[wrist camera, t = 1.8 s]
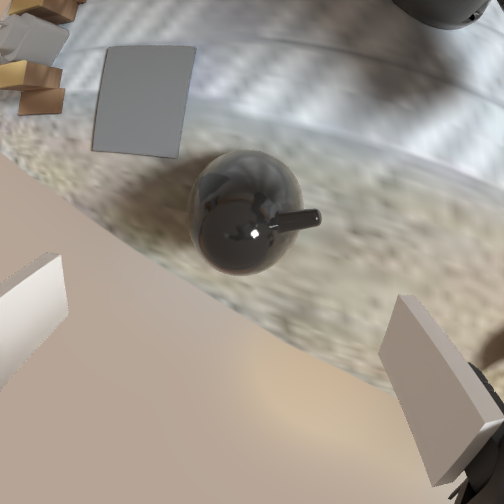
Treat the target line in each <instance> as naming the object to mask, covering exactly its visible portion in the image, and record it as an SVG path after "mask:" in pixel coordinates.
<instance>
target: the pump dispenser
mask: <svg viewBox="0 0 504 504" xmlns="http://www.w3.org/2000/svg"><path fill="white" fill-rule="evenodd" d="M321 221H322V217H321V213H320V211H319V210H318V209H304V204H303V196H302V192H301V188H300V186H299V183H298V181H297V179H296V178H295V176H294V174H293V173H292V172H291V170H290V169H289V168H288V167H287V166H286V165H285V164H284V163H283V162H281V161H280V160H279V159H277V158H276V157H274V156H272V155H270V154H268V153H265V152H262V151H257V150H248V149H245V150H236V151H232V152H228V153H226V154H223V155H221V156H219V157H217V158H216V159H214V160H213V161H212V162H210V163H209V164H208V165H207V166H206V167H205V168H204V169H203V170H202V171H201V173H200V174H199V175H198V177H197V179H196V180H195V182H194V184H193V186H192V189H191V191H190V194H189V197H188V202H187V208H186V222H187V229H188V233H189V236H190V239H191V241H192V243H193V245H194V247H195V249H196V250H197V252H198V253H199V255H200V256H201V257H202V258H203V259H204V260H205V261H206V262H207V263H208V264H209V265H210V266H211V267H213V268H214V269H216V270H218V271H220V272H222V273H225V274H229V275H234V276H248V275H253V274H257V273H260V272H262V271H265V270H267V269H268V268H270V267H272V266H273V265H274V264H276V263H277V262H278V261H279V260H280V259H281V258H283V257H284V255H285V254H286V253H287V252H288V251H289V250H290V248H291V247H292V245H293V244H294V242H295V240H296V238H297V236H298V234H299V232H300V230H301V229H306V228H311V227H316V226H319V225H320V224H321Z"/></svg>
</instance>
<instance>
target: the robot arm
mask: <svg viewBox="0 0 504 504" xmlns="http://www.w3.org/2000/svg"><path fill="white" fill-rule="evenodd" d="M393 1H394V2H395V3H396V4H397V5H398V6H399V7H400V8H402V9H403V10H404V11H406V12H407V13H408V14H410V15H411V16H413V17H415V18H416V19H418V20H420V21H422V22H424V23H426V24H428V25H431V26H434V27H437V28H441V29H448V30H455V29H460V28H463V27H465V26H468V25H470V24H472V23H474V22H475V21H477V20H478V19H479V18H480V17H481V15H482V14H483V13H484V11H485V9H486V8H487V6H488V5H489V3H490V1H491V0H393ZM497 1H498V3H499V5H500V7H501V8H502V10H503V12H504V0H497ZM68 315H69V310H68V304H67V298H66V291H65V284H64V277H63V269H62V261H61V255H60V254H53V253H45V254H44V255H42V256H40V257H39V258H37V259H36V260H34V261H33V262H31V263H29V264H28V265H26V266H25V267H23V268H22V269H20V270H19V271H17V272H16V273H15V274H13V275H11V276H10V277H9V278H7V279H5V280H4V281H3V282H1V283H0V390H1V389H2V388H3V387H4V385H5V384H6V383H7V382H8V381H9V380H10V378H11V377H12V376H13V375H14V374H15V373H16V372H17V370H18V369H19V368H20V367H21V366H22V365H23V364H24V362H25V361H26V360H27V359H28V358H29V357H30V356H31V355H32V354H33V352H34V351H35V350H36V349H37V348H38V347H39V346H40V345H41V344H42V343H43V341H44V340H45V339H46V338H47V337H48V336H49V335H50V334H51V333H52V332H53V331H54V330H55V329H56V328H57V327H58V325H59V324H60V323H61V322H62V321H63V320H64V319H65V318H66V317H67V316H68ZM378 354H379V356H380V359H381V361H382V363H383V365H384V367H385V370H386V372H387V374H388V377H389V379H390V381H391V383H392V386H393V388H394V390H395V393H396V395H397V397H398V400H399V402H400V404H401V407H402V409H403V412H404V414H405V417H406V419H407V422H408V424H409V427H410V429H411V431H412V434H413V437H414V439H415V441H416V444H417V447H418V449H419V452H420V455H421V457H422V460H423V463H424V466H425V468H426V471H427V474H428V477H429V479H430V482H431V485H432V487H435V486H439V485H443V484H447V483H451V482H453V481H454V480H455V479H456V478H457V477H458V476H459V475H460V474H461V473H462V472H463V471H465V473H466V475H467V478H466V479H465V481H464V482H463V483H462V484H461V485H460V486H459V487H458V488H457V489H456V490H455V491H454V492H453V493H452V494H451V495H450V496H449V498H448V499H450V500H451V499H452V498H453V497H454V496H455V495H456V494H457V493H458V496H457V498H456V500H455V503H454V504H504V403H503V402H502V400H501V399H500V397H499V396H498V395H497V393H496V392H494V389H493V387H492V386H491V385H490V384H488V380H487V379H486V378H485V376H484V375H483V374H482V372H481V371H480V370H479V369H477V368H476V367H475V366H474V365H472V364H471V363H470V362H467V361H466V360H465V358H464V357H463V356H462V354H461V353H460V352H459V350H458V349H457V348H456V346H455V345H454V344H453V343H452V341H451V340H450V339H449V337H448V336H447V335H446V333H445V332H444V331H443V330H442V328H441V327H440V326H439V325H438V323H437V322H436V321H435V319H434V318H433V317H432V316H431V315H430V313H429V312H428V311H427V310H426V308H425V307H424V306H423V305H422V303H421V302H420V301H419V300H418V299H417V297H416V296H411V295H398V297H397V300H396V304H395V307H394V310H393V313H392V316H391V319H390V322H389V325H388V328H387V331H386V334H385V337H384V340H383V342H382V345H381V348H380V351H379V353H378Z"/></svg>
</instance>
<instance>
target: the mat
mask: <svg viewBox="0 0 504 504" xmlns="http://www.w3.org/2000/svg"><path fill="white" fill-rule="evenodd" d="M195 53H196V47H191V46H116V47H109V48H108V53H107V58H106V62H105V67H104V72H103V78H102V83H101V89H100V95H99V102H98V108H97V115H96V123H95V131H94V140H93V151H106V152H119V153H130V154H141V155H151V156H160V157H169V158H178V154H179V147H180V140H181V133H182V126H183V120H184V113H185V107H186V101H187V96H188V90H189V84H190V79H191V73H192V68H193V63H194V58H195Z"/></svg>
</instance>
